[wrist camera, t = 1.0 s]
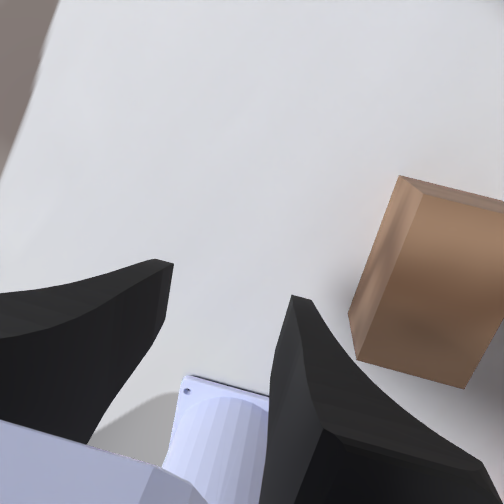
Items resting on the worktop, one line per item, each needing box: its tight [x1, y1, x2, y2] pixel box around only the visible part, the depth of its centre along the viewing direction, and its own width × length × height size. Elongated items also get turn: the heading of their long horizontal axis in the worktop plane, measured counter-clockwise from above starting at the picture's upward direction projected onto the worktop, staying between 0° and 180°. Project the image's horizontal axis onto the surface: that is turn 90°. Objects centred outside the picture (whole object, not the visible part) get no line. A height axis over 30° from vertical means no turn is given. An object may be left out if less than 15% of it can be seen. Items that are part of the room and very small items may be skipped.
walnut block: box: [348, 175, 504, 389], centre depth 18 cm, size 8×5×4 cm, turn 167°
